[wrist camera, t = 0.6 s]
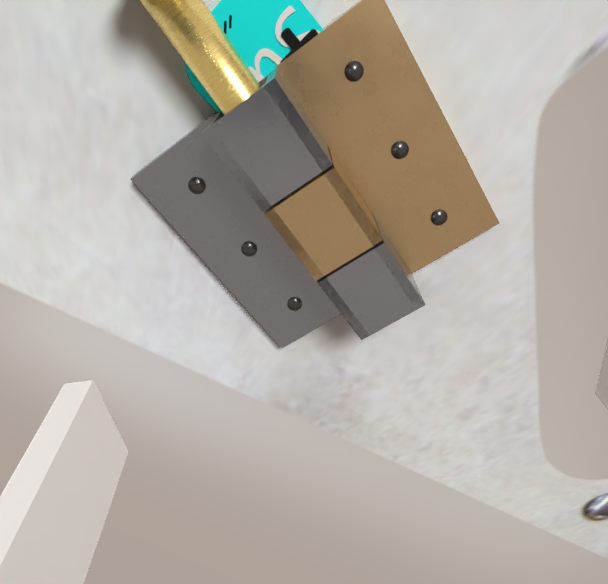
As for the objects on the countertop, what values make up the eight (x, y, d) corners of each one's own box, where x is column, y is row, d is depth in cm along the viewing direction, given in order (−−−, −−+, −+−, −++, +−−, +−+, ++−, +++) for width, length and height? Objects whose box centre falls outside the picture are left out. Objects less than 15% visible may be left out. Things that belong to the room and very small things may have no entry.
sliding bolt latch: (134, 174, 35) (107, 203, 30) (375, -12, 29) (392, -16, 24) (281, 341, 43) (280, 385, 38) (494, 218, 37) (526, 250, 32)
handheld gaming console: (261, -48, 28) (416, 146, 34) (262, -46, 29) (413, 142, 35) (167, 62, 31) (324, 223, 37) (171, 60, 32) (324, 218, 37)
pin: (116, -23, 28) (89, -27, 24) (174, -76, 27) (154, -90, 23) (311, 238, 37) (313, 265, 33) (361, 206, 35) (369, 230, 32)
